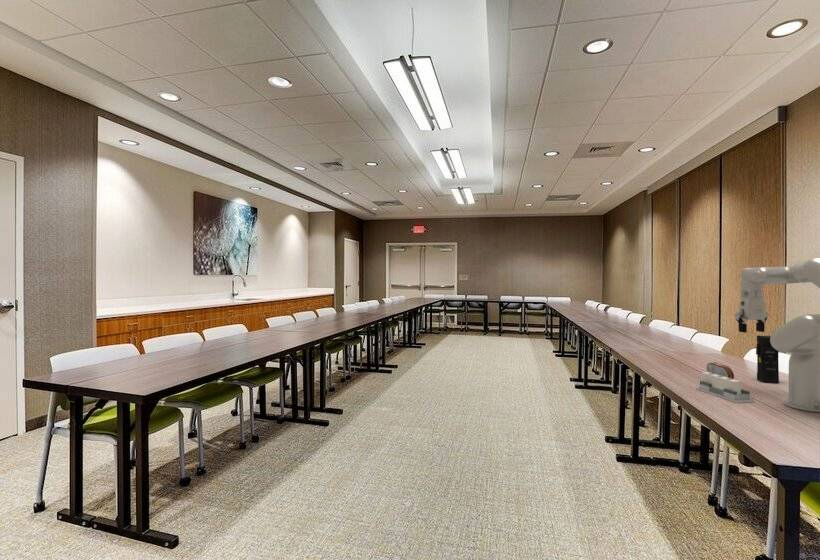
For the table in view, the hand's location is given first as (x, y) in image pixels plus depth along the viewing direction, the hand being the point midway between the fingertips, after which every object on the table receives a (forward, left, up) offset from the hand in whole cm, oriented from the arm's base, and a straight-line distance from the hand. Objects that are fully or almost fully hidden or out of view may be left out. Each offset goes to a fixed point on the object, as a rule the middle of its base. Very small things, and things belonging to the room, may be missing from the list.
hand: (751, 331), depth 179 cm
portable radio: (+12, -22, -27) cm, 37 cm away
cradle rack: (-5, +19, -27) cm, 33 cm away
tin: (+17, -1, -27) cm, 32 cm away
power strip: (-4, +19, -24) cm, 31 cm away
